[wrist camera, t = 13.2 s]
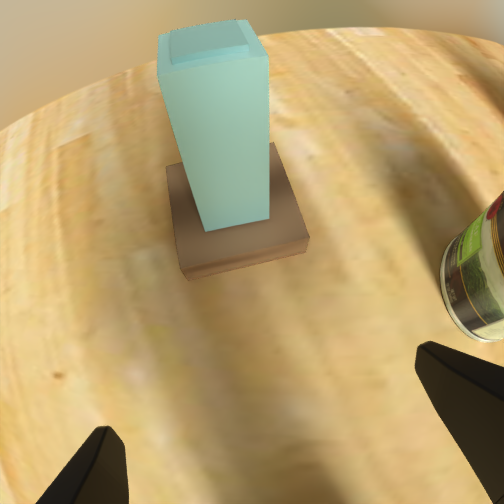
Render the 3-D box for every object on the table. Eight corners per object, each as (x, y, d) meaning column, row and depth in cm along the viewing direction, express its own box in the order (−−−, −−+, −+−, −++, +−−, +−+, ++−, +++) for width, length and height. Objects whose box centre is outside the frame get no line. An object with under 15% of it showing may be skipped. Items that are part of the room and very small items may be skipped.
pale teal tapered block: (269, 218, 22) (268, 48, 11) (205, 231, 22) (155, 69, 11) (255, 170, 24) (246, 13, 13) (197, 182, 24) (157, 29, 13)
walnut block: (304, 254, 25) (309, 237, 22) (189, 282, 24) (180, 268, 21) (273, 164, 28) (273, 142, 26) (174, 187, 28) (165, 166, 25)
